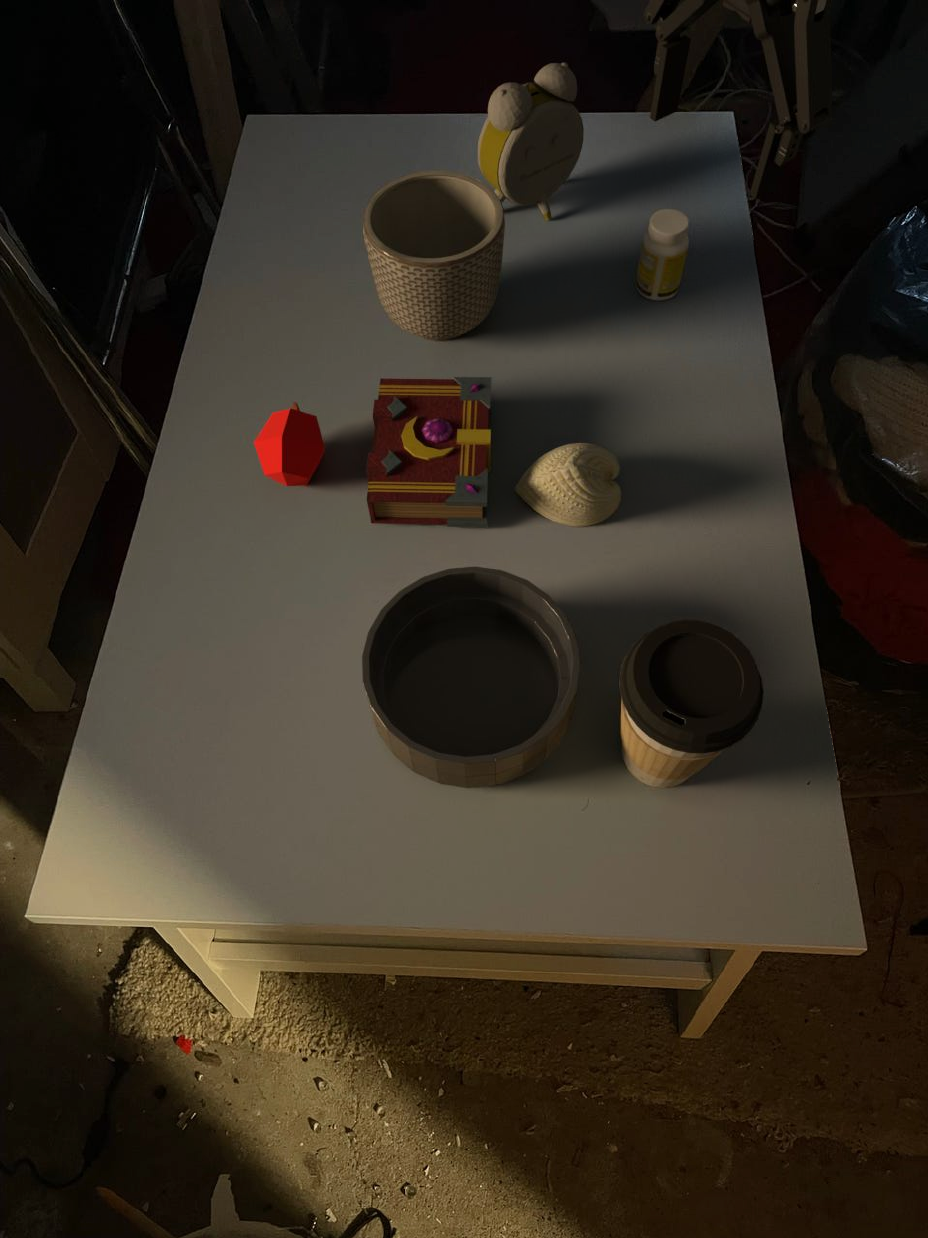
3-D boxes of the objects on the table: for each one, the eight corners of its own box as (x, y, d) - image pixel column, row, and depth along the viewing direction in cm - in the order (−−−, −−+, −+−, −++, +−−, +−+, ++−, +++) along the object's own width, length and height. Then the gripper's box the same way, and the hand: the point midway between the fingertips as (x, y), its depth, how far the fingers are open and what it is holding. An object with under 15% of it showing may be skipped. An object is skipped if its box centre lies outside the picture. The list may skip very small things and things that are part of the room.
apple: (304, 475, 81) (316, 391, 82) (238, 474, 83) (250, 392, 84) (335, 497, 88) (346, 419, 88) (274, 494, 89) (284, 418, 90)
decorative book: (368, 527, 85) (362, 496, 80) (383, 398, 92) (377, 363, 88) (488, 530, 84) (488, 498, 80) (492, 399, 92) (492, 364, 87)
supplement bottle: (682, 276, 100) (697, 210, 92) (674, 305, 97) (689, 240, 90) (640, 268, 100) (651, 202, 93) (631, 297, 98) (642, 231, 91)
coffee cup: (738, 730, 74) (792, 650, 61) (690, 832, 70) (736, 770, 57) (631, 677, 76) (659, 588, 63) (578, 772, 73) (597, 699, 59)
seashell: (637, 520, 81) (567, 510, 77) (580, 536, 89) (513, 527, 85) (636, 434, 82) (566, 419, 78) (579, 457, 90) (513, 444, 85)
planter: (525, 297, 99) (529, 192, 87) (466, 382, 93) (463, 281, 82) (415, 259, 102) (406, 154, 91) (353, 339, 96) (334, 237, 85)
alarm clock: (554, 173, 109) (562, 44, 96) (588, 202, 106) (602, 74, 93) (475, 210, 106) (473, 83, 93) (509, 241, 103) (511, 115, 90)
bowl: (602, 647, 78) (611, 611, 72) (524, 824, 71) (527, 800, 65) (426, 578, 82) (421, 539, 76) (335, 739, 74) (322, 709, 69)
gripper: (623, -183, 66) (594, 99, 85) (872, -41, 56) (777, 243, 75) (700, -210, 68) (655, 71, 87) (955, -78, 58) (842, 208, 77)
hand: (711, 151), depth 81 cm, fingers open, 13 cm apart
